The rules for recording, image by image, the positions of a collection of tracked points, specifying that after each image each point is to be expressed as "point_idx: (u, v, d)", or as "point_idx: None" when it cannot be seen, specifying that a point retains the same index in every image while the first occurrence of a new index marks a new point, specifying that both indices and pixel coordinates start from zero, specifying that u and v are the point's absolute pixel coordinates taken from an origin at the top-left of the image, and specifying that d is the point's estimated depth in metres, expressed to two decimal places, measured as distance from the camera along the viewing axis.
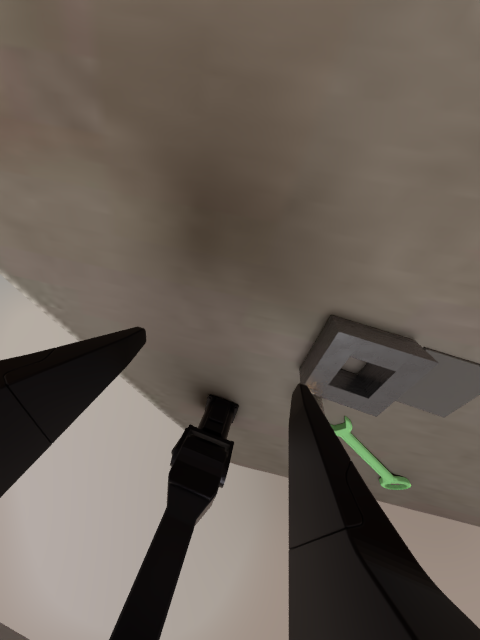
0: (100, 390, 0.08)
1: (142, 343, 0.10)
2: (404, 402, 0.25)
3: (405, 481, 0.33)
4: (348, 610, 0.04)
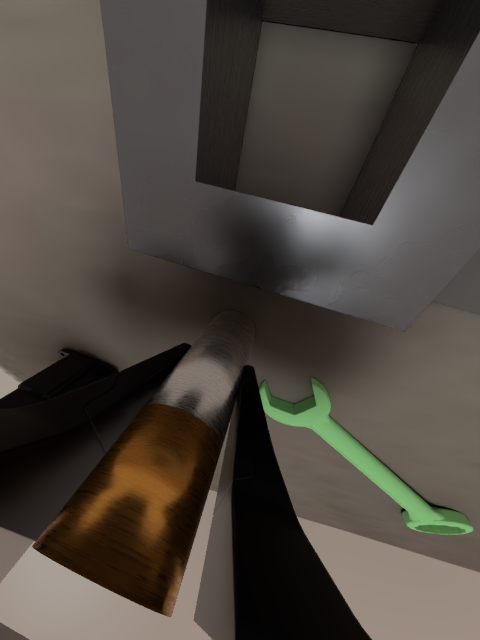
0: None
1: None
2: None
3: (461, 521, 0.15)
4: (220, 550, 0.04)
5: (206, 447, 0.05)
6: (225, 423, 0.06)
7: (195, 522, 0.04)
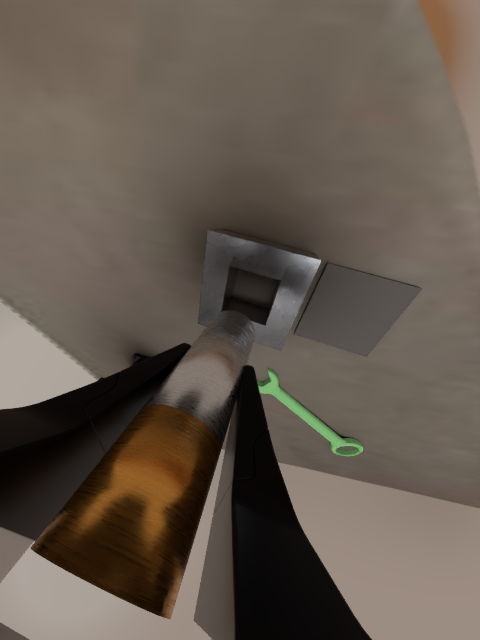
0: None
1: None
2: (322, 340, 0.22)
3: (354, 442, 0.29)
4: (220, 550, 0.04)
5: (206, 448, 0.05)
6: (225, 424, 0.06)
7: (195, 523, 0.04)
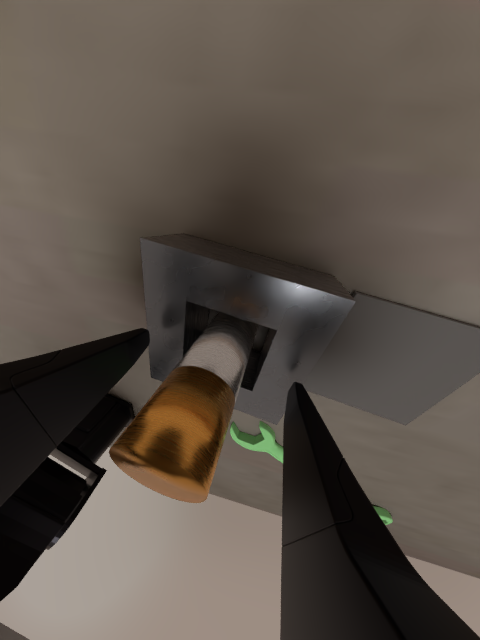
0: (105, 392, 0.08)
1: (146, 344, 0.10)
2: (339, 399, 0.15)
3: (381, 514, 0.21)
4: (337, 605, 0.04)
5: (225, 396, 0.07)
6: (237, 384, 0.08)
7: (220, 444, 0.06)
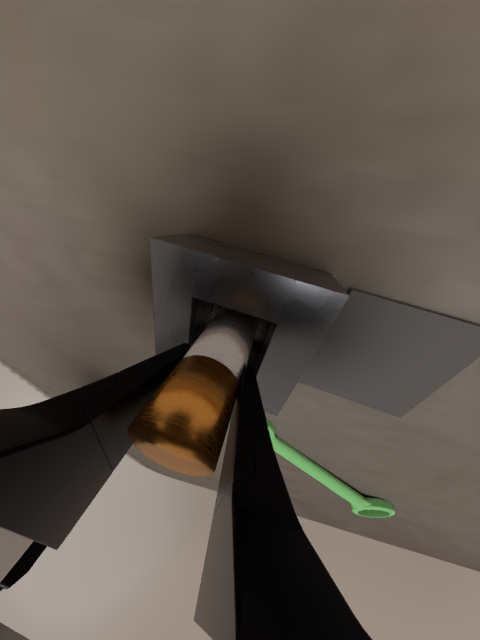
0: None
1: None
2: (336, 392, 0.15)
3: (383, 506, 0.22)
4: (220, 550, 0.04)
5: (230, 382, 0.07)
6: (241, 373, 0.08)
7: (226, 424, 0.06)
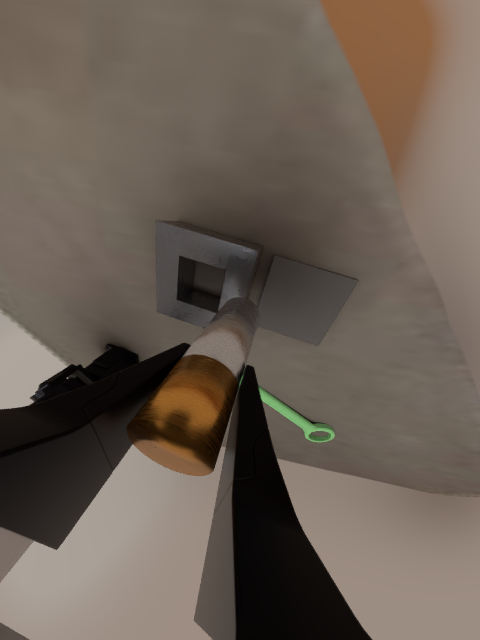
0: None
1: None
2: (277, 330, 0.23)
3: (324, 427, 0.29)
4: (220, 550, 0.04)
5: (229, 382, 0.07)
6: (240, 372, 0.08)
7: (225, 423, 0.06)
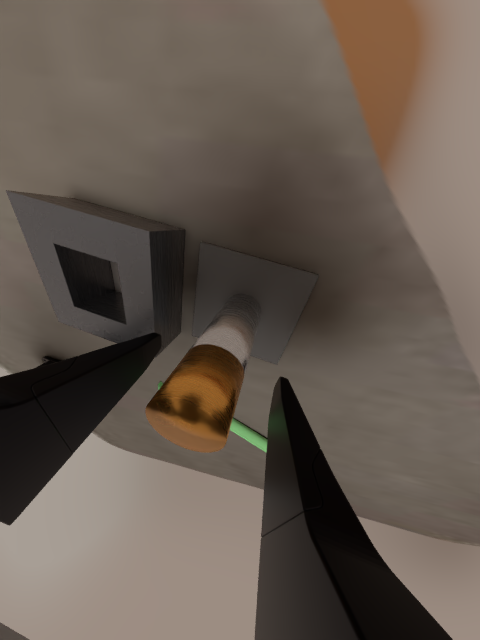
0: (119, 397, 0.08)
1: (158, 349, 0.10)
2: None
3: None
4: (301, 587, 0.04)
5: (236, 368, 0.08)
6: (245, 361, 0.09)
7: (234, 404, 0.07)
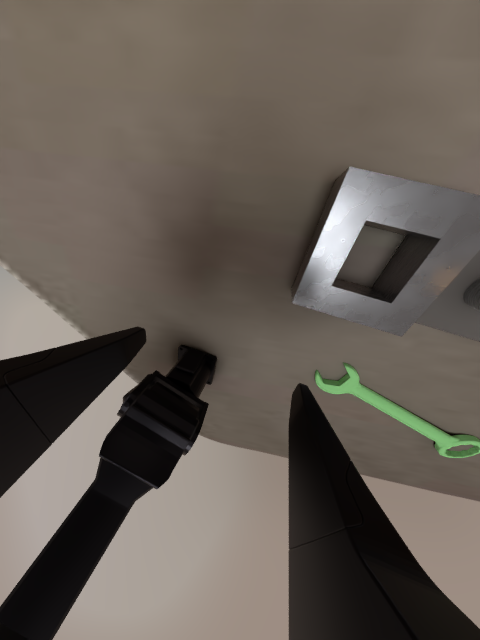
0: (100, 390, 0.08)
1: (142, 343, 0.10)
2: (437, 326, 0.18)
3: (472, 440, 0.23)
4: (348, 610, 0.04)
5: None
6: None
7: None
